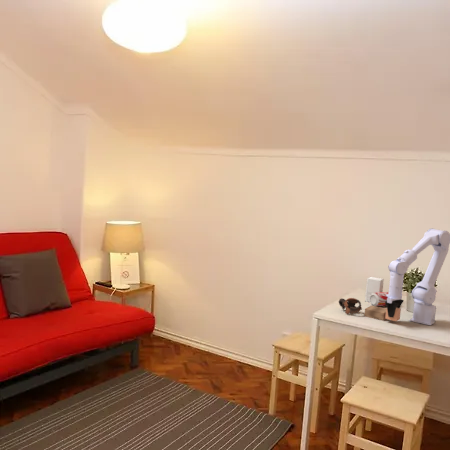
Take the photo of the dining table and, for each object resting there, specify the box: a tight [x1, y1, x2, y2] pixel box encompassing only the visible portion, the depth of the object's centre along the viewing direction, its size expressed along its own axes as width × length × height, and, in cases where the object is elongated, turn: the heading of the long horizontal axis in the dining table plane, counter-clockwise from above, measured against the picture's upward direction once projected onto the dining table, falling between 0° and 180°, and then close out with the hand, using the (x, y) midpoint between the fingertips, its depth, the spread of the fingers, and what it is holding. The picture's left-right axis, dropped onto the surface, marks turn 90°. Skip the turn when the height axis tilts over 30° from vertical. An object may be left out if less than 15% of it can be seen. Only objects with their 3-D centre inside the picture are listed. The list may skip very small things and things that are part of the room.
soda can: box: [369, 291, 389, 307], centre depth 249 cm, size 7×7×12 cm
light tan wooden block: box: [363, 305, 386, 321], centre depth 227 cm, size 9×9×4 cm
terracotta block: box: [385, 307, 402, 322], centre depth 219 cm, size 5×5×5 cm
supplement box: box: [364, 276, 385, 303], centre depth 257 cm, size 7×7×13 cm
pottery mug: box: [338, 297, 363, 315], centre depth 231 cm, size 12×10×8 cm
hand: (392, 315), depth 219 cm, fingers closed on terracotta block, 5 cm apart
